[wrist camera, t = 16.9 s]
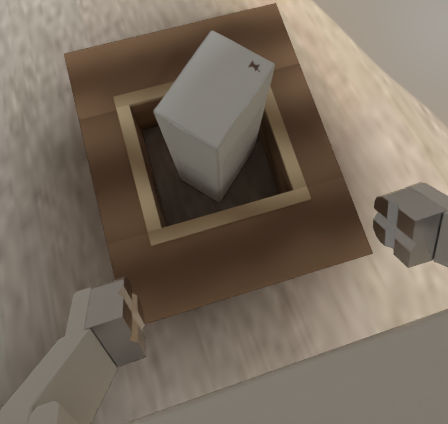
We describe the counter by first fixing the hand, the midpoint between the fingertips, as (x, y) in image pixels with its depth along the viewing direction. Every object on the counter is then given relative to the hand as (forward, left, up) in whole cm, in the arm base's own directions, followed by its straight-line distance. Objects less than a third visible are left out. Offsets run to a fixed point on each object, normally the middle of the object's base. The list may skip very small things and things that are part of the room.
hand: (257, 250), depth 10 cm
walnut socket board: (+9, -1, -17) cm, 19 cm away
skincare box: (+9, -1, -17) cm, 20 cm away
